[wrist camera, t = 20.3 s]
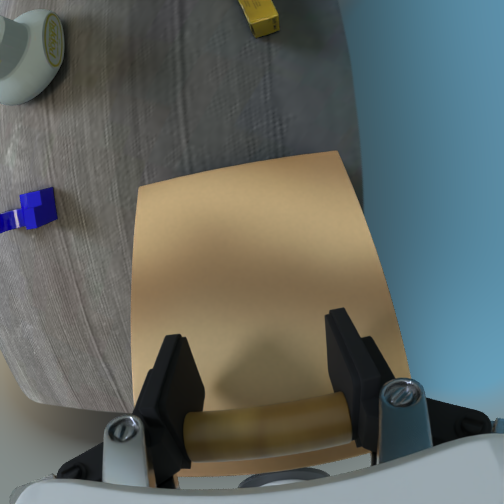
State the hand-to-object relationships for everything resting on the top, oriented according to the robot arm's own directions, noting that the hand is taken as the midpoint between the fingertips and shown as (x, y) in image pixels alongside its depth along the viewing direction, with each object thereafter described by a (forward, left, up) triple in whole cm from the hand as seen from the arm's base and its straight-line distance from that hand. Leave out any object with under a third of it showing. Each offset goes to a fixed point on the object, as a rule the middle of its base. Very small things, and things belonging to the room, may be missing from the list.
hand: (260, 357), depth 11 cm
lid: (0, 0, -4) cm, 4 cm away
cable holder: (+20, +15, -19) cm, 32 cm away
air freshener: (+31, +2, -19) cm, 36 cm away
